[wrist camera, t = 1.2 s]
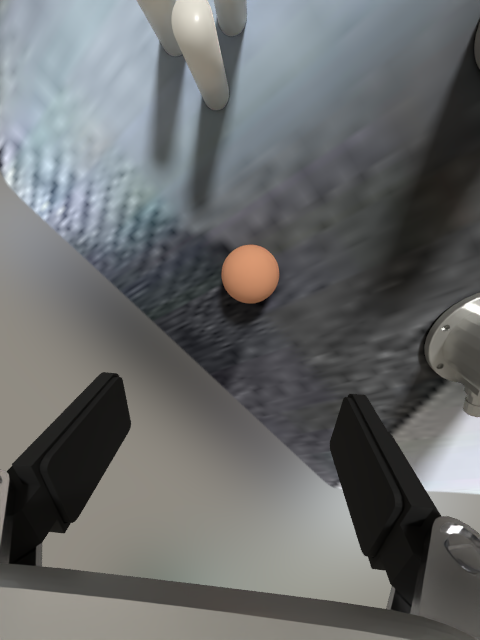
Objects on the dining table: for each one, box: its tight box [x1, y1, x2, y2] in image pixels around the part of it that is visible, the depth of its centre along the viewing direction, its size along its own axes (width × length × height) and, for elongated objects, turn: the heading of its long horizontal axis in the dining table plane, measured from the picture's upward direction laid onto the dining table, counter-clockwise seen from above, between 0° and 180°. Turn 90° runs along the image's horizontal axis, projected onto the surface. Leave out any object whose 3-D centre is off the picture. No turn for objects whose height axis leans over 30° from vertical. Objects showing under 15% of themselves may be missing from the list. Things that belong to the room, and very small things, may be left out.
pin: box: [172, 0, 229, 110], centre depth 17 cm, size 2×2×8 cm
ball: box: [222, 245, 279, 303], centre depth 24 cm, size 6×6×6 cm
